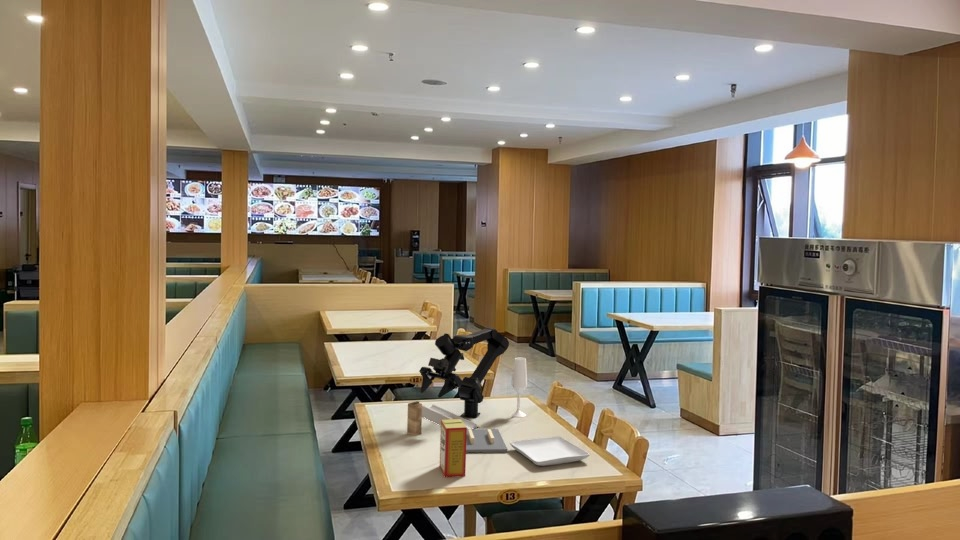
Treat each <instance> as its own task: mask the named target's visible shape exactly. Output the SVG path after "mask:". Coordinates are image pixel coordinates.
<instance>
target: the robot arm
mask: <svg viewBox="0 0 960 540" xmlns="http://www.w3.org/2000/svg"><path fill="white" fill-rule="evenodd" d="M452 337H453V338H452ZM452 337H451V335H450V334H449V333H446V332H445V333H444V334H443V335H440V336H438V338H436V339H435V342H434V345H435V346H436V348H437V349H438V350H439V351H440V352H441V353H440V354H442V355H443V356H444V357H442V358H440V359H439V358H434V357H430V358H429V361H428V364H427V365H428V366H421V367H420V369H419V371H418V372H419V374H420V376H421V377H422V380H421V381H422V382H421V387H420V391H419V392H420V393H421V394H423V393H424V392H425V391H426V390H427V389H428V388H429V387H430V386H431V385H432V384H433V381H434V380H435V379H438V380H443V381H444V383H443V386H442V387H441V389H440V390H439V392H438V395H437V397H438V398H442V397H444V396H445V395H447V394H448V393H450V392H452V391H454V390H455V389H458V391H457V392H458V395H459V400H461V401H464V402H463V403H464V407H463V413H462V414H461V415H460V417H464V418H471V419H473V418H474V419H476V418H477V417H479V416H480V415H481V412H479V404H481V403H482V402H483V401H484V395H483V394H482V393H481V392H482V391H481V390H482V383H483V381H484V379H485V377H486V376H487V374H488V372H489V370H490V369H491V367H492V366H493V364H494V363H495V361H496V360H497V359H498V357H500V356H502V355H503V354H504V353H506V351H507V350H508V348H509V345H510V342H509V339H508V338H507V337H506V336H504V335H503V334H502V333H500V332H498V330H497V329H496V328H492V327H485V328H484V329H480V330H477V331H475V332H472V333H469V334H456V335H453V336H452ZM484 341H486V342H487V343H486V345H487V348H486V349H487V350H486V352H485V354H484V355H483V357H482V358H481V360H480V362H479V363H478V365H477V366H476V368H475V369H474V371H473V372H472V374H471V375H470V376H465V377H463V379H462V378H461V377H460V376H459V374H458V373H456V371H457V369H456V366H458V363H459V362H460V360H461V361H465V357H464V353H463V352H461V351H464V352H467V351H470V350H471V349H473V348H474V345H476V344H479V343H482V342H484ZM430 367H432V368H430Z"/></svg>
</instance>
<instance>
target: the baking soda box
mask: <svg viewBox="0 0 960 540" xmlns="http://www.w3.org/2000/svg"><path fill="white" fill-rule="evenodd" d="M466 437H467V427H466V426H465V424H464V423H463V421H462V420H461V419H441V426H440V438H439V439H440V440H439V441H440V443H439V446H440V447H439V468H440V470H441V472H442V475H443V474H444V475H443V477H444V476H445V477H444V478H453V477H452V476H461V477H466V462H467V453H466Z"/></svg>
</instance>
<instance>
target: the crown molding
mask: <svg viewBox="0 0 960 540" xmlns="http://www.w3.org/2000/svg"><path fill="white" fill-rule="evenodd" d="M423 417H425V418H426V419H425V418H424V419H425V420H427V419H428V420H427V421H429V420H430V421H429V422H431V421H433V422H435V423H437V424H439V425H441V419H461V420H462V421H463V423H464V424H465V426H468V427H470V428H471V429H472V428H474V429H476V428H477V427H478V428H479V425H478V424H477V423H475V422H472V421H470V420H468V419H466V418H465V417H463V416H461V415H457V414H455V413H453V412H451V411H449V410H446V409H444V408H441V407H439V406H437V405H435V404H432V405H431V406H430V407H428V406H426V405H423V404H422V418H423ZM433 422H432V423H433ZM435 423H434V424H435ZM437 424H436V425H437ZM439 425H438V426H439ZM467 429H468V428H467Z"/></svg>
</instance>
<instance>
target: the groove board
mask: <svg viewBox="0 0 960 540" xmlns="http://www.w3.org/2000/svg"><path fill="white" fill-rule="evenodd" d="M468 452H487V454H495V453H496V454H499V453H506V454H507V453H508V447H507V446H506V443H505V441H504V439H503V436H502V435H501V433H500V431H499V429H497V428H493V429H492V428H487V429H484V428H483V429H480V428H479V429H478V428H477V429H476V428H474V429H467V437H466V454H469V453H468Z"/></svg>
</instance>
